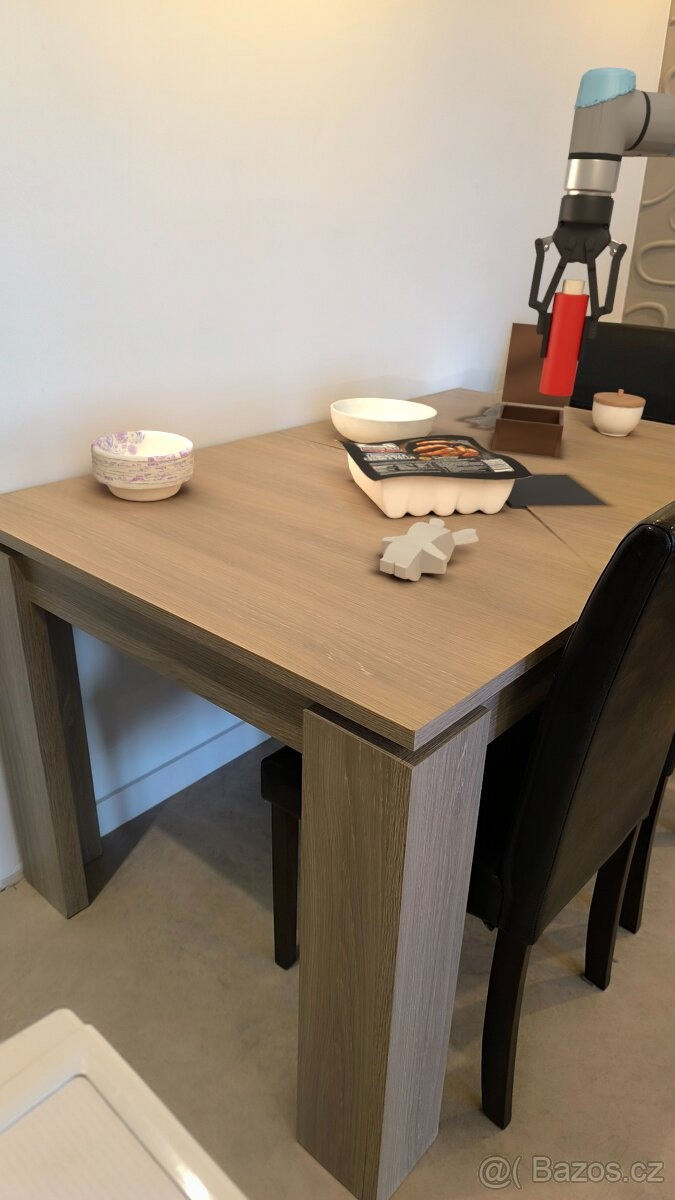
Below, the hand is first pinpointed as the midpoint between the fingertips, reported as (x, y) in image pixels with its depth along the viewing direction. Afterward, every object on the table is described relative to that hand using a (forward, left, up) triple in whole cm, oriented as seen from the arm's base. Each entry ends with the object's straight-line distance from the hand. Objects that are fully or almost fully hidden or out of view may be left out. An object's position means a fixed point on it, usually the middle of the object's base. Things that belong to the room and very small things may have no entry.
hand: (561, 358), depth 130 cm
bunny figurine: (+28, +31, -22) cm, 47 cm away
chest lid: (-11, -35, -7) cm, 37 cm away
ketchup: (0, 0, -5) cm, 5 cm away
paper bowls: (+65, +1, -22) cm, 69 cm away
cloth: (-11, -50, -22) cm, 56 cm away
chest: (-8, -27, -22) cm, 36 cm away
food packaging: (+21, +4, -22) cm, 31 cm away
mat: (0, +1, -22) cm, 22 cm away
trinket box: (-33, -40, -22) cm, 57 cm away
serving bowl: (+21, -30, -22) cm, 43 cm away
